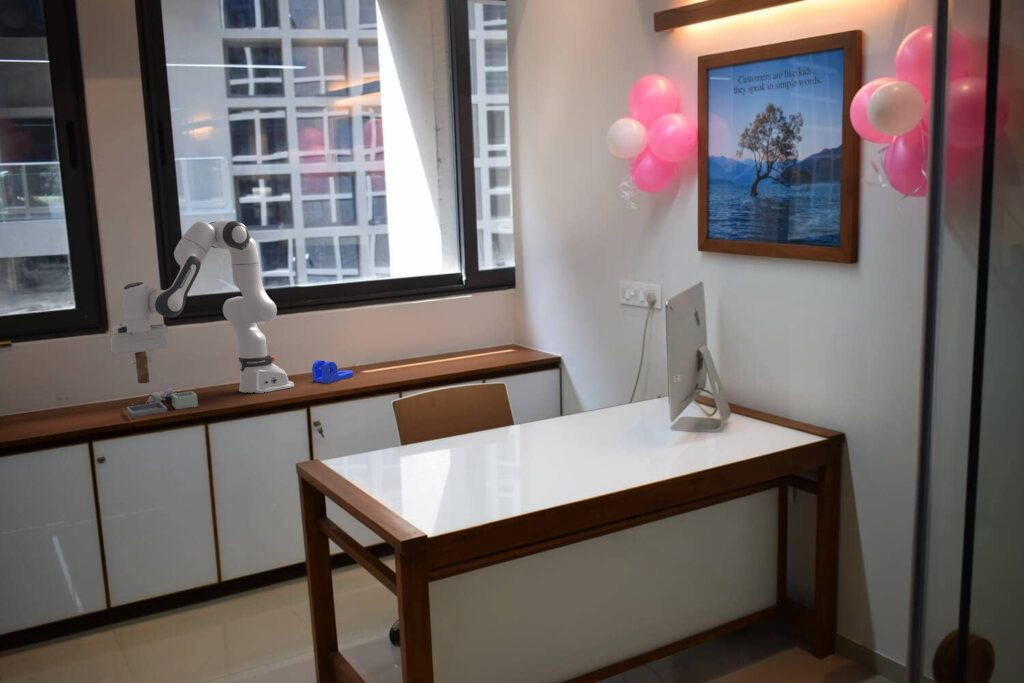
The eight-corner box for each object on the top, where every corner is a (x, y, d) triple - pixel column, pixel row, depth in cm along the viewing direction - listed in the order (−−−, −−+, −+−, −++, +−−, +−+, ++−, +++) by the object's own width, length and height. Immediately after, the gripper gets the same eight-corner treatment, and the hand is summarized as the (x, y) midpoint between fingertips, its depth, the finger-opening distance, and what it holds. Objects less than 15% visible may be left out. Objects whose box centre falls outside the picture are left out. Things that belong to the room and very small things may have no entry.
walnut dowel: (148, 380, 353) (145, 351, 351) (150, 382, 350) (147, 352, 348) (137, 382, 351) (134, 352, 349) (138, 383, 348) (135, 353, 346)
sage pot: (193, 404, 365) (192, 391, 364) (198, 408, 358) (196, 394, 357) (172, 407, 361) (171, 394, 360) (176, 411, 354) (175, 397, 353)
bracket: (326, 384, 395) (324, 363, 394) (313, 382, 400) (311, 361, 399) (357, 376, 409) (355, 356, 408) (344, 374, 414) (343, 354, 413)
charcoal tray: (161, 408, 361) (160, 402, 361) (167, 414, 350) (167, 408, 350) (127, 413, 355) (126, 407, 354) (132, 419, 344) (131, 413, 344)
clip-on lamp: (147, 419, 357) (188, 400, 369) (143, 405, 354) (184, 386, 367) (131, 413, 364) (171, 394, 376) (127, 398, 361) (167, 380, 374)
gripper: (165, 322, 355) (168, 358, 357) (107, 328, 345) (111, 364, 347) (168, 324, 349) (172, 360, 352) (110, 330, 339) (114, 367, 342)
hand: (141, 362), depth 349 cm, fingers closed on walnut dowel, 4 cm apart
